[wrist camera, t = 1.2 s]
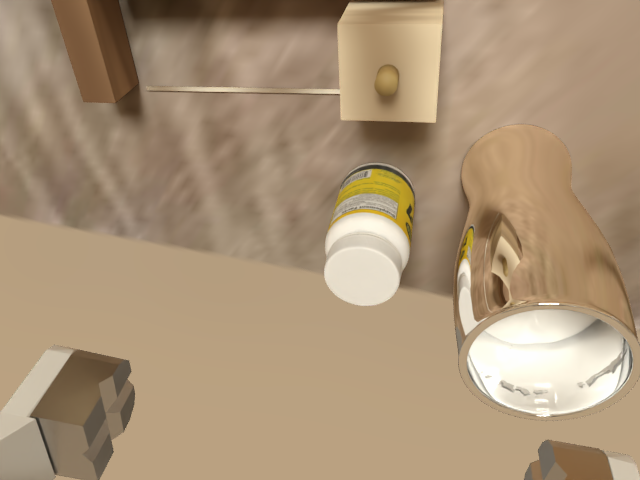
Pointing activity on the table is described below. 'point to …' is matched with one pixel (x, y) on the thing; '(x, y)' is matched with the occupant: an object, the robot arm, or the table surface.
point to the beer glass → (537, 286)
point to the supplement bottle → (370, 234)
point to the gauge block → (390, 60)
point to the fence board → (115, 53)
